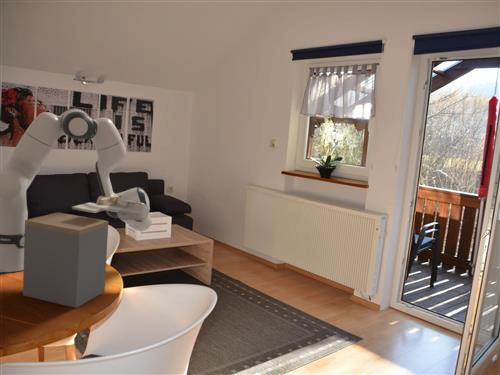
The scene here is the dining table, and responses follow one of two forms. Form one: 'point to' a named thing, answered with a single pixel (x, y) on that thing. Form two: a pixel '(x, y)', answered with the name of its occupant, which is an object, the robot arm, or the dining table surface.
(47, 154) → the robot arm
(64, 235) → the grey box
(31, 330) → the dining table surface
